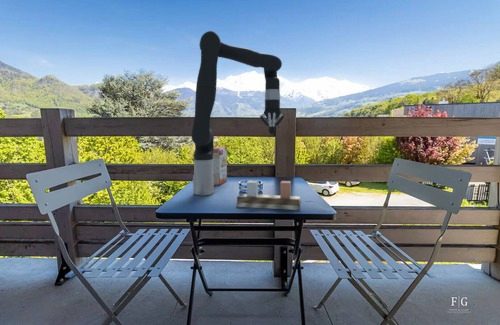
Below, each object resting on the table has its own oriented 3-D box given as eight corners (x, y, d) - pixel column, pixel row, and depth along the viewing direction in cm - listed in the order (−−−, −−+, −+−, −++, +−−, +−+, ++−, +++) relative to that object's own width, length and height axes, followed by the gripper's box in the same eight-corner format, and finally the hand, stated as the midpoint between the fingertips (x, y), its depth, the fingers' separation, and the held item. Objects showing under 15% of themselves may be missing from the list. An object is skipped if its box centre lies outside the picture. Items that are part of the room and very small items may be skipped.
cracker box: (220, 185, 152) (219, 148, 149) (210, 185, 153) (209, 148, 150) (227, 180, 165) (227, 146, 162) (218, 180, 167) (217, 146, 164)
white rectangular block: (247, 200, 116) (246, 182, 115) (249, 198, 120) (248, 180, 119) (256, 201, 115) (256, 182, 114) (257, 198, 119) (257, 180, 118)
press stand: (236, 206, 115) (236, 197, 114) (244, 196, 129) (244, 188, 129) (299, 210, 110) (299, 200, 109) (300, 199, 124) (300, 191, 124)
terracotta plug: (280, 201, 115) (280, 182, 114) (281, 198, 119) (281, 180, 118) (289, 201, 114) (290, 183, 113) (290, 199, 118) (290, 181, 117)
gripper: (258, 99, 134) (258, 134, 137) (285, 98, 131) (284, 134, 134) (260, 100, 141) (260, 133, 144) (286, 99, 139) (285, 133, 141)
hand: (272, 134), depth 139 cm, fingers closed
